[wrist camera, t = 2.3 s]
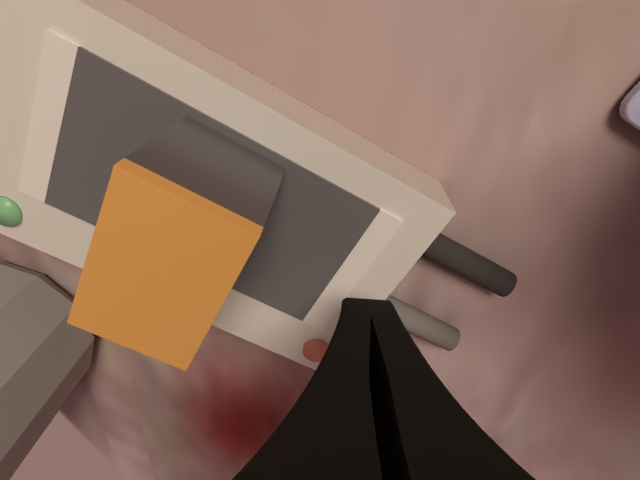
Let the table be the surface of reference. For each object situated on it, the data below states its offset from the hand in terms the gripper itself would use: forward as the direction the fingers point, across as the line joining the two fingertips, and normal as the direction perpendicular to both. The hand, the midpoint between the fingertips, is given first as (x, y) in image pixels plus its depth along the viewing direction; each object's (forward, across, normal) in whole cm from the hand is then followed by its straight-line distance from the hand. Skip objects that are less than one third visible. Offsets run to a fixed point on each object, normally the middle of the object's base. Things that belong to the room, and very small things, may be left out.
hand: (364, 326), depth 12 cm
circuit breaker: (+5, +5, -2) cm, 7 cm away
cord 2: (+5, -3, 0) cm, 6 cm away
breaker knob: (+2, +5, -2) cm, 6 cm away
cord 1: (+5, -2, +3) cm, 6 cm away
